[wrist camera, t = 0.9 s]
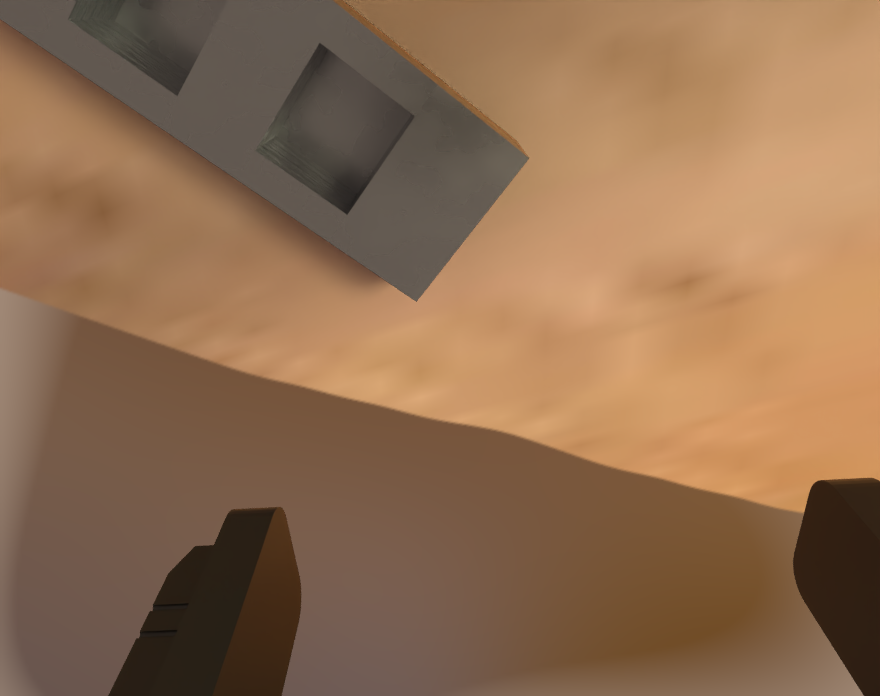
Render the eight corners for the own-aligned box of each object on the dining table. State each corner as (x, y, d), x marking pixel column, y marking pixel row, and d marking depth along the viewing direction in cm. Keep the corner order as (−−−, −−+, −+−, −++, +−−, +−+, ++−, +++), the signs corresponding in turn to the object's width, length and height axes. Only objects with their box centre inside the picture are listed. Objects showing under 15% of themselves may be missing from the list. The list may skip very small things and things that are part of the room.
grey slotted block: (75, -216, 24) (4, -263, 20) (516, 140, 31) (529, 157, 26) (1, -23, 27) (-74, -31, 23) (418, 268, 33) (416, 301, 29)
